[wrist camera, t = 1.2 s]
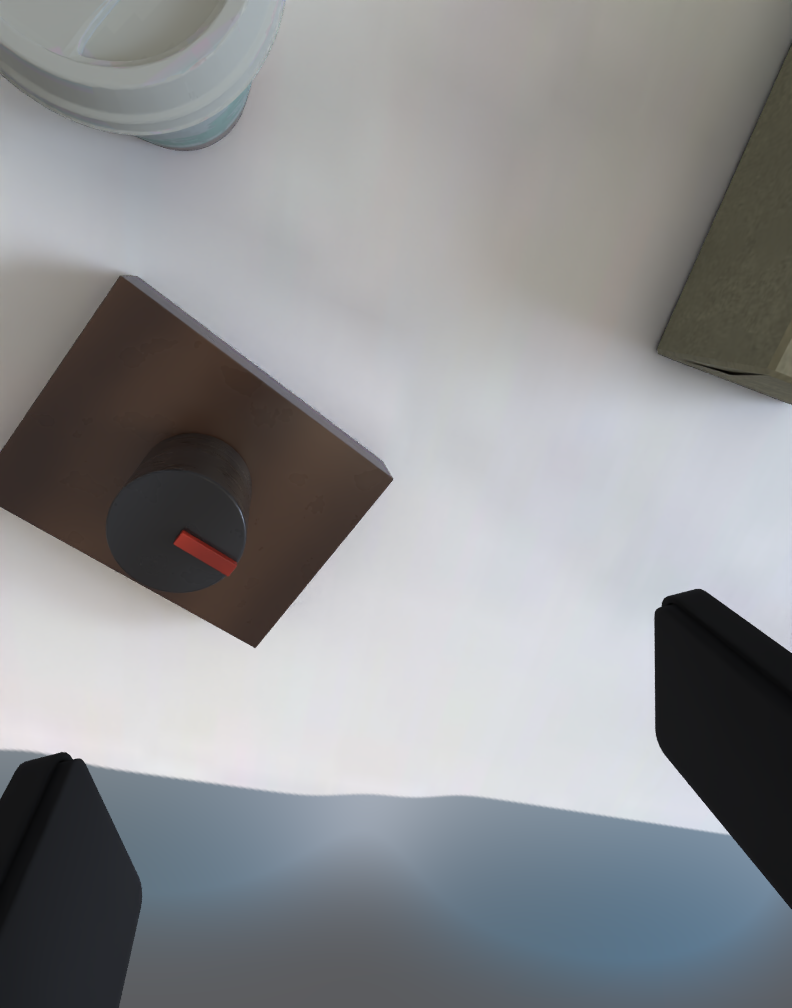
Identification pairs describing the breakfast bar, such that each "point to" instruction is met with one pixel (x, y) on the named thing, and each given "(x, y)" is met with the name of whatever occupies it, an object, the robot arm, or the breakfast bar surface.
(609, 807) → the breakfast bar surface
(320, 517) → the panel
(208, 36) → the coffee cup
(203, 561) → the knob
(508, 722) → the breakfast bar surface
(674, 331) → the tissue box
